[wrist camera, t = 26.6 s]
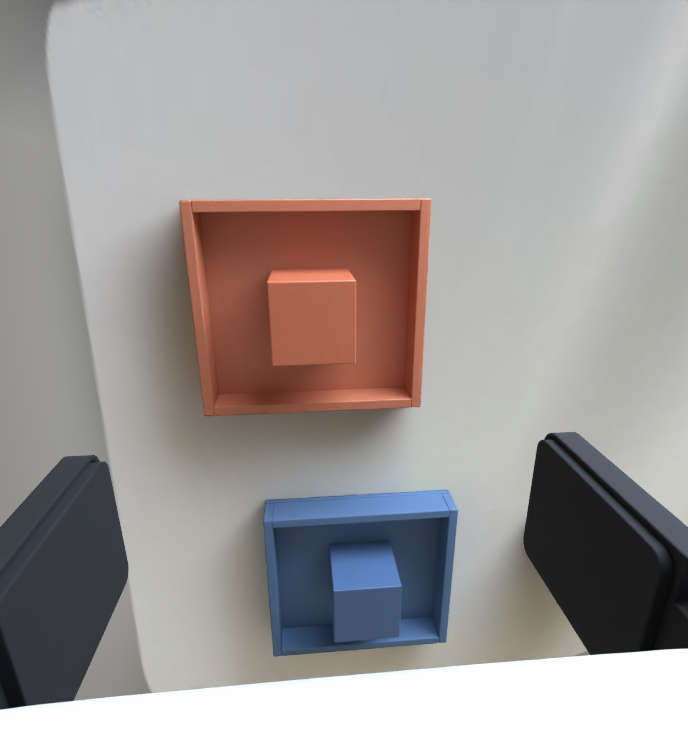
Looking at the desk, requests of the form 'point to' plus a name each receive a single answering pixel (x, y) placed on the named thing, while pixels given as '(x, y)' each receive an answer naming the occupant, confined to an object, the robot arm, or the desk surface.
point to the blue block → (364, 591)
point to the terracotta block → (312, 316)
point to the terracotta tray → (306, 251)
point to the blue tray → (352, 525)
